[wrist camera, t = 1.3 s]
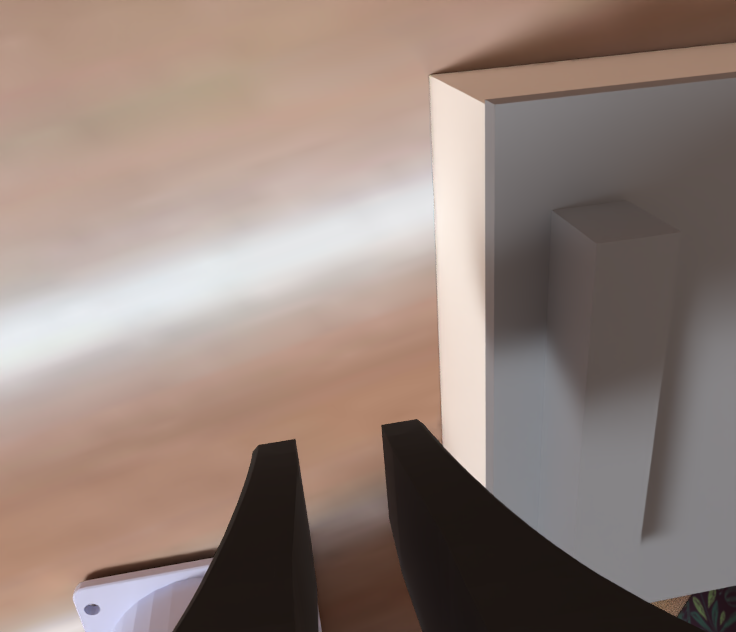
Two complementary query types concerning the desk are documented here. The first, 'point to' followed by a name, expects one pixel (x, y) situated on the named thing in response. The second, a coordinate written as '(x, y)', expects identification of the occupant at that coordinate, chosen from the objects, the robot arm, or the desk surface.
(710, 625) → the coffee bag
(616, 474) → the sliding lid
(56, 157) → the desk surface
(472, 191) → the white box
